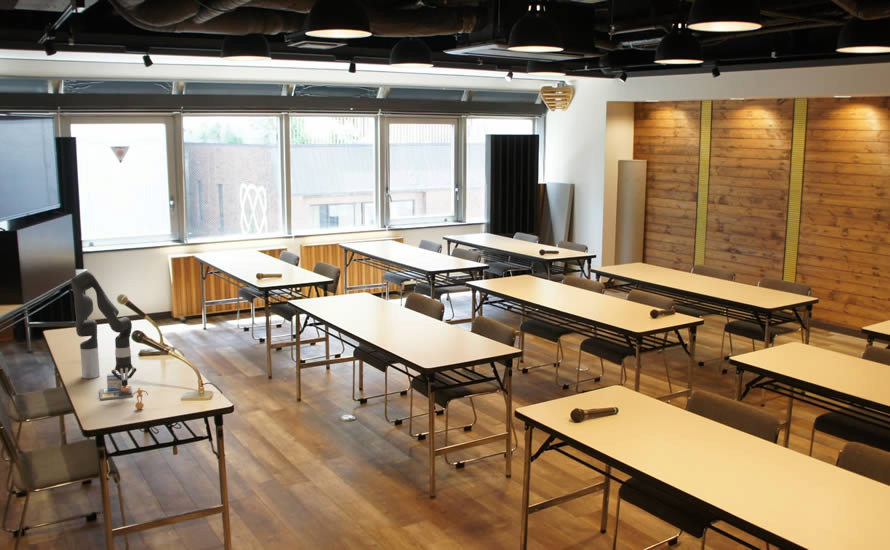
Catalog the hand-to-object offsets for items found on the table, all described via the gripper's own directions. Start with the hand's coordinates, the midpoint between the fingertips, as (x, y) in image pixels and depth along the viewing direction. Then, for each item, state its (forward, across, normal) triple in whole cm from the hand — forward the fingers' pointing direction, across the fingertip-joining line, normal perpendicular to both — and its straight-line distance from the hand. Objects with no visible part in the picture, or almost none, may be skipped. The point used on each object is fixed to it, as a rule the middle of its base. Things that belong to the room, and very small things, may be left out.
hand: (124, 386), depth 417 cm
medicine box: (+4, -4, +9) cm, 11 cm away
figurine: (+5, +6, -27) cm, 28 cm away
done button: (+2, 0, 0) cm, 2 cm away
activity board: (+5, -4, +5) cm, 8 cm away
